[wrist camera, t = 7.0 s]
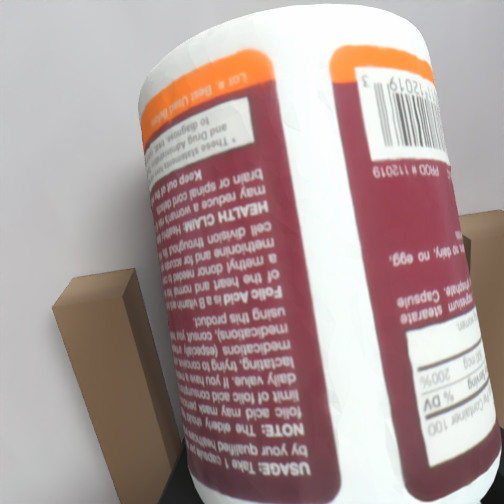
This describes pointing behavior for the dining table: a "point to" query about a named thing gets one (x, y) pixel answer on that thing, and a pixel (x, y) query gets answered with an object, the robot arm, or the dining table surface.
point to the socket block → (150, 374)
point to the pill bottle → (316, 264)
